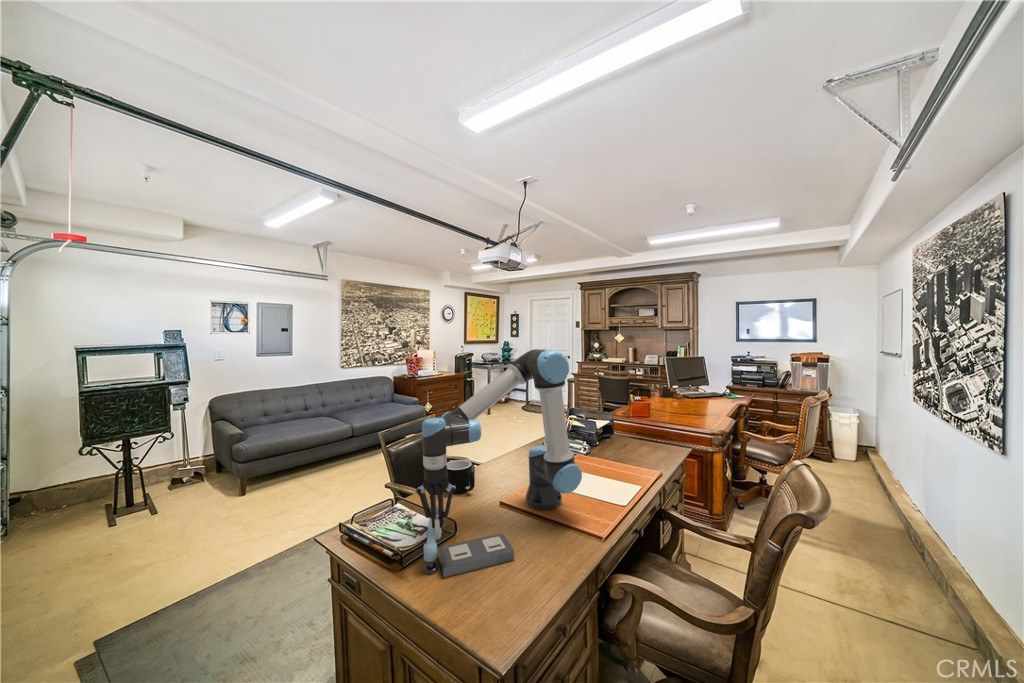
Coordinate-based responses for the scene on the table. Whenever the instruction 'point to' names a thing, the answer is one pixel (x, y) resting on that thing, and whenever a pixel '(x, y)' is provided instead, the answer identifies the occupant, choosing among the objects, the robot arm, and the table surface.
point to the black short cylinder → (430, 567)
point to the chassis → (474, 554)
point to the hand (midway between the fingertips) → (438, 536)
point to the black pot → (461, 475)
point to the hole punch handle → (431, 542)
